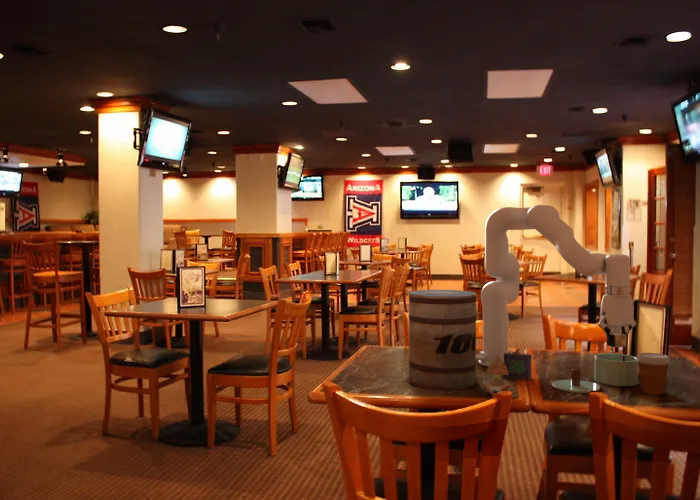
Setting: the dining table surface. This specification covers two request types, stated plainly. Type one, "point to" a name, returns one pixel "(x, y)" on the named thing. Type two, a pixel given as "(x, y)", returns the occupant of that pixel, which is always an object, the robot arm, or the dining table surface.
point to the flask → (518, 365)
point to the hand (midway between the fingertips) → (617, 345)
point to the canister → (616, 369)
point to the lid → (575, 384)
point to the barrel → (442, 339)
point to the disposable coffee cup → (652, 372)
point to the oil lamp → (496, 377)
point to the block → (620, 340)
